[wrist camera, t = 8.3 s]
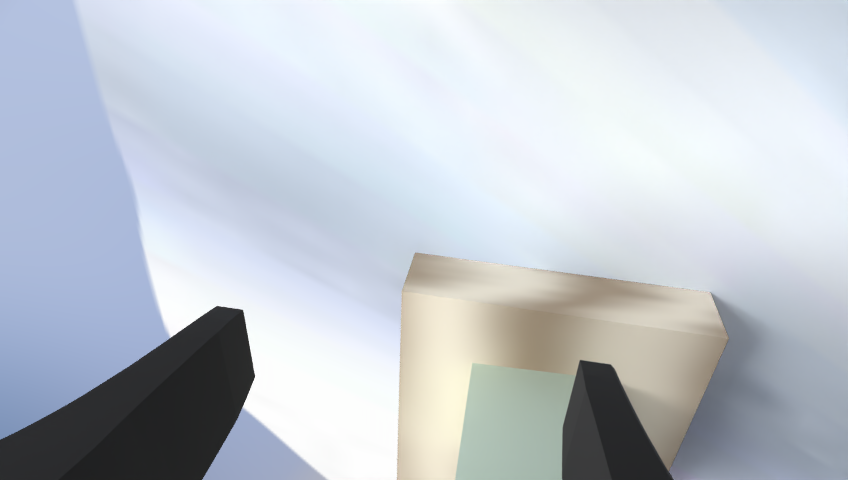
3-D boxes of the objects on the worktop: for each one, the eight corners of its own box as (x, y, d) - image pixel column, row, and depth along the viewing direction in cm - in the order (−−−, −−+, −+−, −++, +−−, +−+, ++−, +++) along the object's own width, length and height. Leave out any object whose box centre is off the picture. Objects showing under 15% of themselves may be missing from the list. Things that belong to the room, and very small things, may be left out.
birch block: (707, 284, 21) (728, 338, 19) (634, 466, 27) (644, 526, 24) (417, 245, 22) (401, 291, 20) (409, 427, 28) (396, 479, 26)
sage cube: (610, 379, 20) (627, 507, 16) (589, 466, 23) (599, 594, 19) (472, 363, 21) (454, 480, 17) (467, 448, 24) (451, 568, 20)
